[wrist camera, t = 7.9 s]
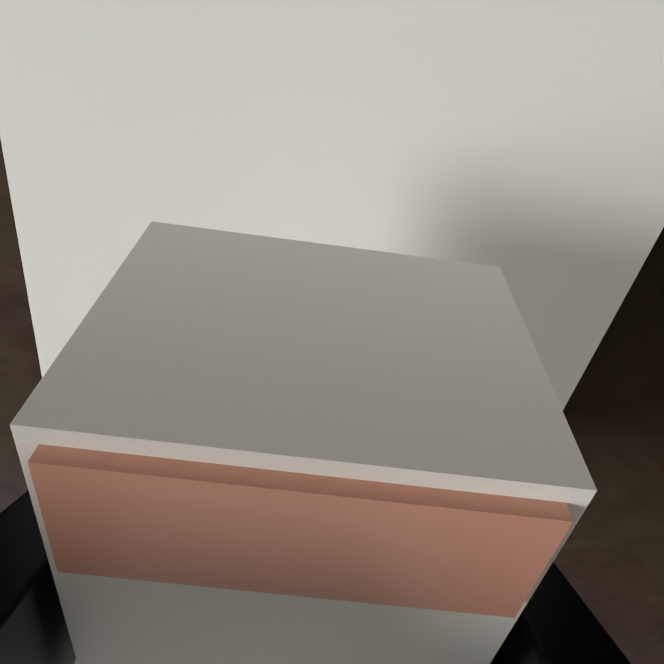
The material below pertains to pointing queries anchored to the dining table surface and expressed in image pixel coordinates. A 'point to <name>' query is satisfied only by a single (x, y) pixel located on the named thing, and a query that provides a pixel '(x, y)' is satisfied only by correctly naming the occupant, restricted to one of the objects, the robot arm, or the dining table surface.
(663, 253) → the dining table surface
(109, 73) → the mat
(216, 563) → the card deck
